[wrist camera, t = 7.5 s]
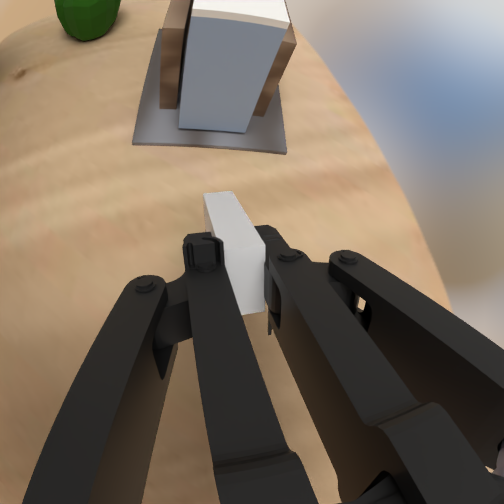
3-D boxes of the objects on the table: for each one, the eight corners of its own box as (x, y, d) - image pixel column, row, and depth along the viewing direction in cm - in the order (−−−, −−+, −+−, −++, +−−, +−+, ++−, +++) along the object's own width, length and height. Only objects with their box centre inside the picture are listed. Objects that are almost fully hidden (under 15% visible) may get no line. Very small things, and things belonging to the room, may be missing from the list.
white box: (178, 128, 26) (192, 8, 14) (187, 58, 29) (203, -42, 17) (245, 132, 27) (290, 22, 16) (242, 63, 30) (274, -31, 18)
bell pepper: (61, 56, 26) (48, -10, 17) (61, 25, 28) (53, -32, 18) (128, 37, 29) (128, -31, 20) (120, 9, 30) (120, -50, 21)
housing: (132, 145, 25) (122, 60, 16) (159, 31, 30) (164, -36, 21) (285, 154, 29) (330, 83, 19) (270, 42, 33) (295, -19, 24)
